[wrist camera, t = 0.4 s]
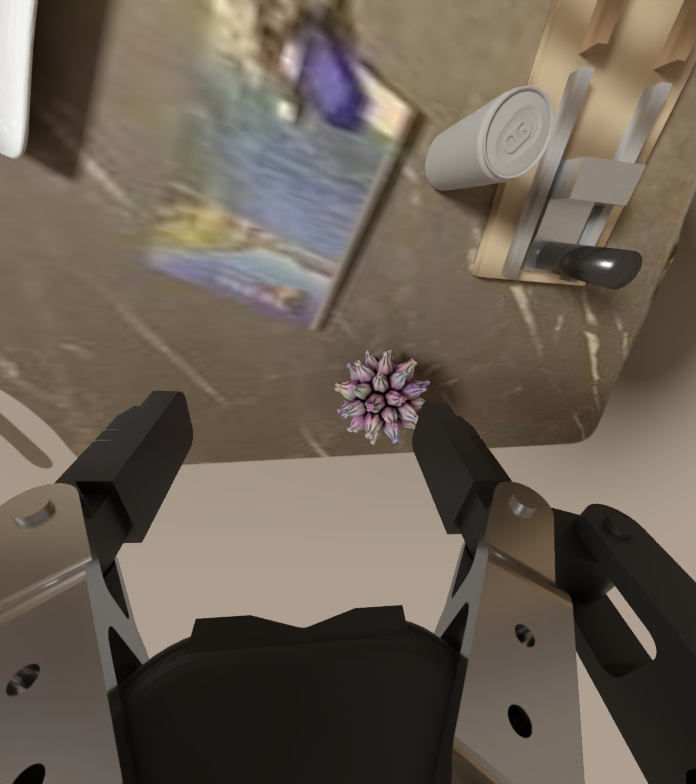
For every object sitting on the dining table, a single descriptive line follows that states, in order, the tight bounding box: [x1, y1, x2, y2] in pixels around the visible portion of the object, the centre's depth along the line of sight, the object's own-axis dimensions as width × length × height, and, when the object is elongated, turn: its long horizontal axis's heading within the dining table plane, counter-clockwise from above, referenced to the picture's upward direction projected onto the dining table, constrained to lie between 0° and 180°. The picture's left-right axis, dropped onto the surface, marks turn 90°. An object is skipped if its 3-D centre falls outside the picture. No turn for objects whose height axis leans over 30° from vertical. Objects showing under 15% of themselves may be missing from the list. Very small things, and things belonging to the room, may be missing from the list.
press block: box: [520, 156, 646, 289], centre depth 27 cm, size 10×6×10 cm, turn 175°
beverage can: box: [425, 85, 554, 191], centre depth 24 cm, size 5×5×12 cm
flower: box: [334, 349, 430, 445], centre depth 35 cm, size 12×12×12 cm
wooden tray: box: [472, 0, 696, 286], centre depth 28 cm, size 25×14×4 cm, turn 175°
